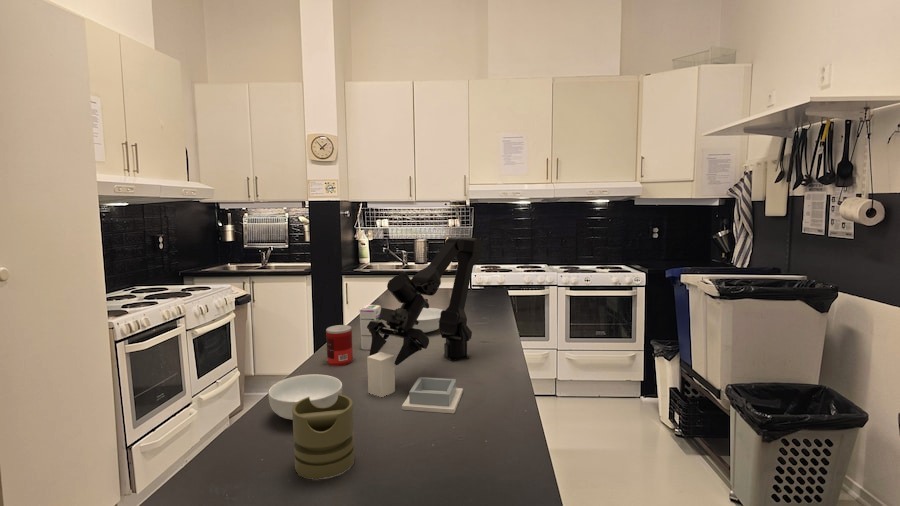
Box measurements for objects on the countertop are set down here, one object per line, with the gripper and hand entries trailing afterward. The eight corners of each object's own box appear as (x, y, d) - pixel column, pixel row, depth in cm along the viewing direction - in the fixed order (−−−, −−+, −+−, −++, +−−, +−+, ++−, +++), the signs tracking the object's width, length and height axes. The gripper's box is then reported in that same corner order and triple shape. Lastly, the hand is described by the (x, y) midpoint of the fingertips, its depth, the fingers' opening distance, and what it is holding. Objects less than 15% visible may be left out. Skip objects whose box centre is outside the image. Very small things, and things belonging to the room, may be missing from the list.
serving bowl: (457, 327, 193) (457, 310, 192) (427, 341, 176) (426, 322, 175) (415, 320, 204) (414, 304, 204) (382, 333, 187) (382, 315, 186)
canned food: (357, 359, 157) (356, 325, 156) (344, 367, 150) (342, 332, 148) (336, 356, 160) (335, 324, 158) (322, 364, 152) (321, 330, 151)
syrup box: (377, 350, 166) (375, 308, 164) (360, 349, 167) (359, 308, 165) (382, 345, 171) (381, 304, 169) (366, 344, 172) (365, 304, 171)
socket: (415, 388, 132) (415, 374, 132) (462, 392, 130) (462, 377, 129) (402, 409, 120) (401, 393, 119) (454, 413, 117) (454, 397, 117)
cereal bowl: (275, 437, 106) (273, 406, 106) (265, 408, 121) (263, 381, 120) (351, 420, 114) (350, 391, 113) (333, 395, 129) (332, 369, 128)
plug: (381, 387, 134) (380, 351, 133) (395, 391, 131) (394, 355, 130) (368, 393, 130) (367, 356, 129) (381, 397, 127) (380, 360, 126)
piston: (295, 396, 99) (352, 391, 101) (298, 452, 100) (354, 446, 103) (289, 421, 88) (353, 414, 90) (292, 484, 89) (355, 476, 92)
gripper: (370, 292, 138) (341, 339, 130) (421, 300, 127) (393, 352, 119) (390, 314, 145) (364, 360, 137) (440, 323, 134) (415, 373, 126)
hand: (382, 361), depth 130 cm, fingers open, 9 cm apart
